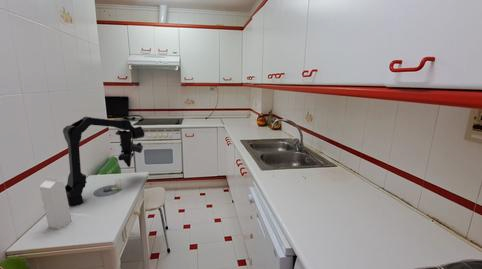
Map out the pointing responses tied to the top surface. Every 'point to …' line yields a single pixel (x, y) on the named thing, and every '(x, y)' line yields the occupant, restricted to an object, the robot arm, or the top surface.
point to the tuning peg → (109, 188)
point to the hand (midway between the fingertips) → (129, 166)
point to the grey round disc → (101, 192)
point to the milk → (55, 203)
